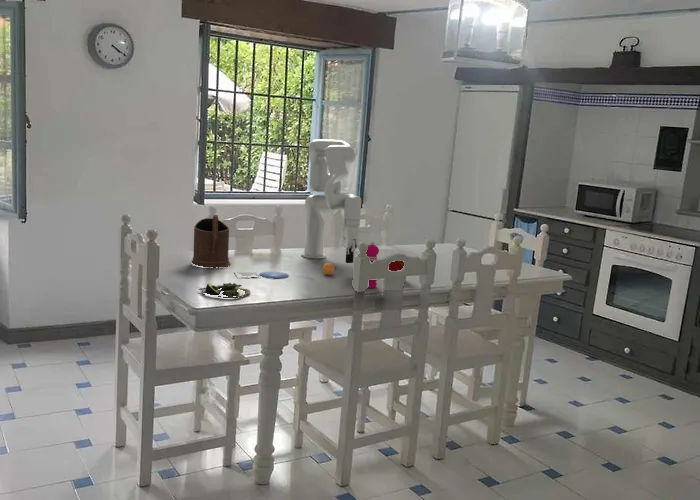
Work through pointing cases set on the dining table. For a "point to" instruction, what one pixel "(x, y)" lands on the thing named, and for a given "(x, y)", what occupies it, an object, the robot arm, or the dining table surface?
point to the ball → (328, 268)
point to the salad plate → (228, 290)
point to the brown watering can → (211, 243)
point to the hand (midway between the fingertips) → (349, 262)
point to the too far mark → (249, 274)
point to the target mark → (274, 275)
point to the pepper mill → (372, 255)
